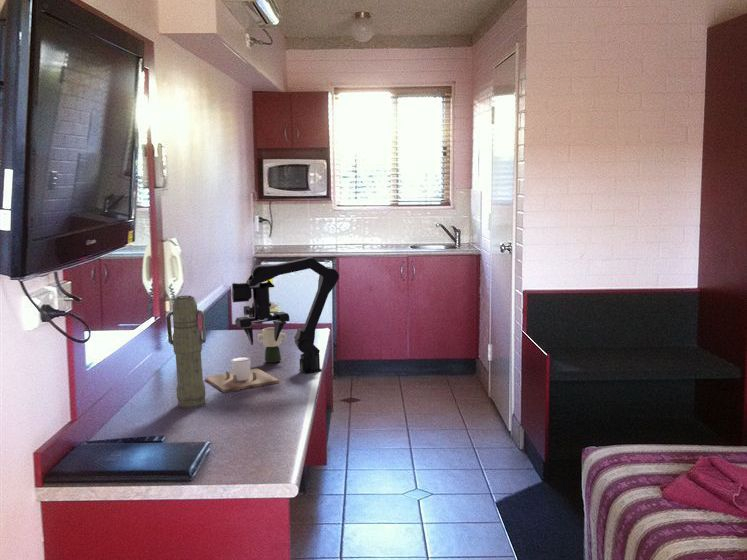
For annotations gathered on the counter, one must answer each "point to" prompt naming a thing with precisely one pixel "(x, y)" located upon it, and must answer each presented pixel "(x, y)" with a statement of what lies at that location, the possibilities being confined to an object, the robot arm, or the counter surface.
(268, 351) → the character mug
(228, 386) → the pin plate
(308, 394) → the counter surface
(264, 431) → the counter surface
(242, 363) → the shot glass
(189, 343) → the thermos
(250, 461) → the counter surface
